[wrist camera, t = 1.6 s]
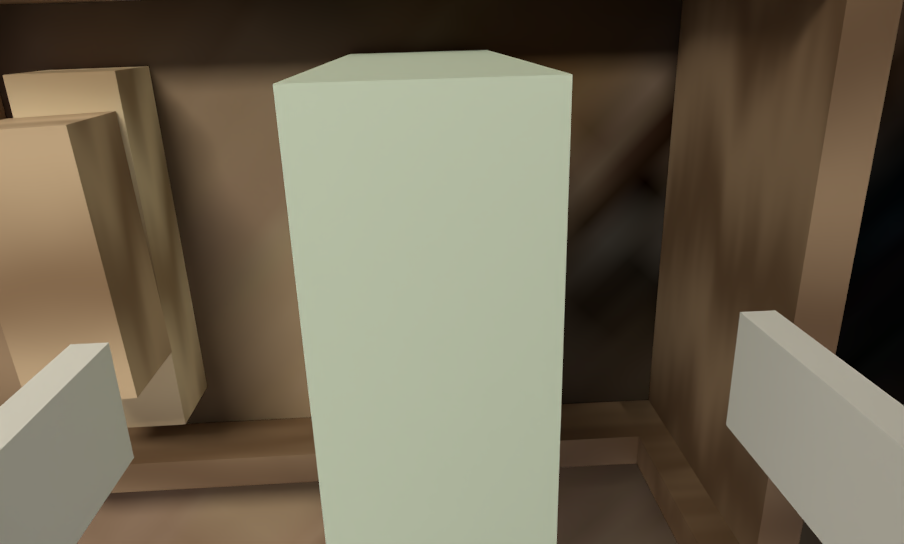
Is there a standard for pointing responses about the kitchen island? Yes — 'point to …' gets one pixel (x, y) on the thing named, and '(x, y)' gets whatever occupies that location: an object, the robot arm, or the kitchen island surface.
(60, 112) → the block
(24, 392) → the robot arm
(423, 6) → the kitchen island surface
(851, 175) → the rack
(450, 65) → the tall block
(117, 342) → the offcut short
